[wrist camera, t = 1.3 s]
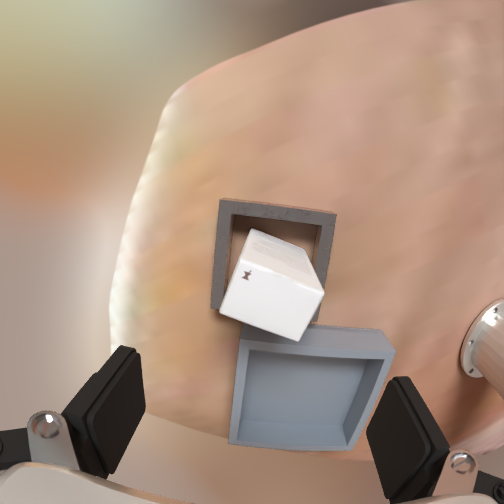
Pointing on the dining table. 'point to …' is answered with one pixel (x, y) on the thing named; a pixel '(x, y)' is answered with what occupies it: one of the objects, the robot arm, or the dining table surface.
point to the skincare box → (273, 287)
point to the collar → (271, 211)
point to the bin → (307, 387)
